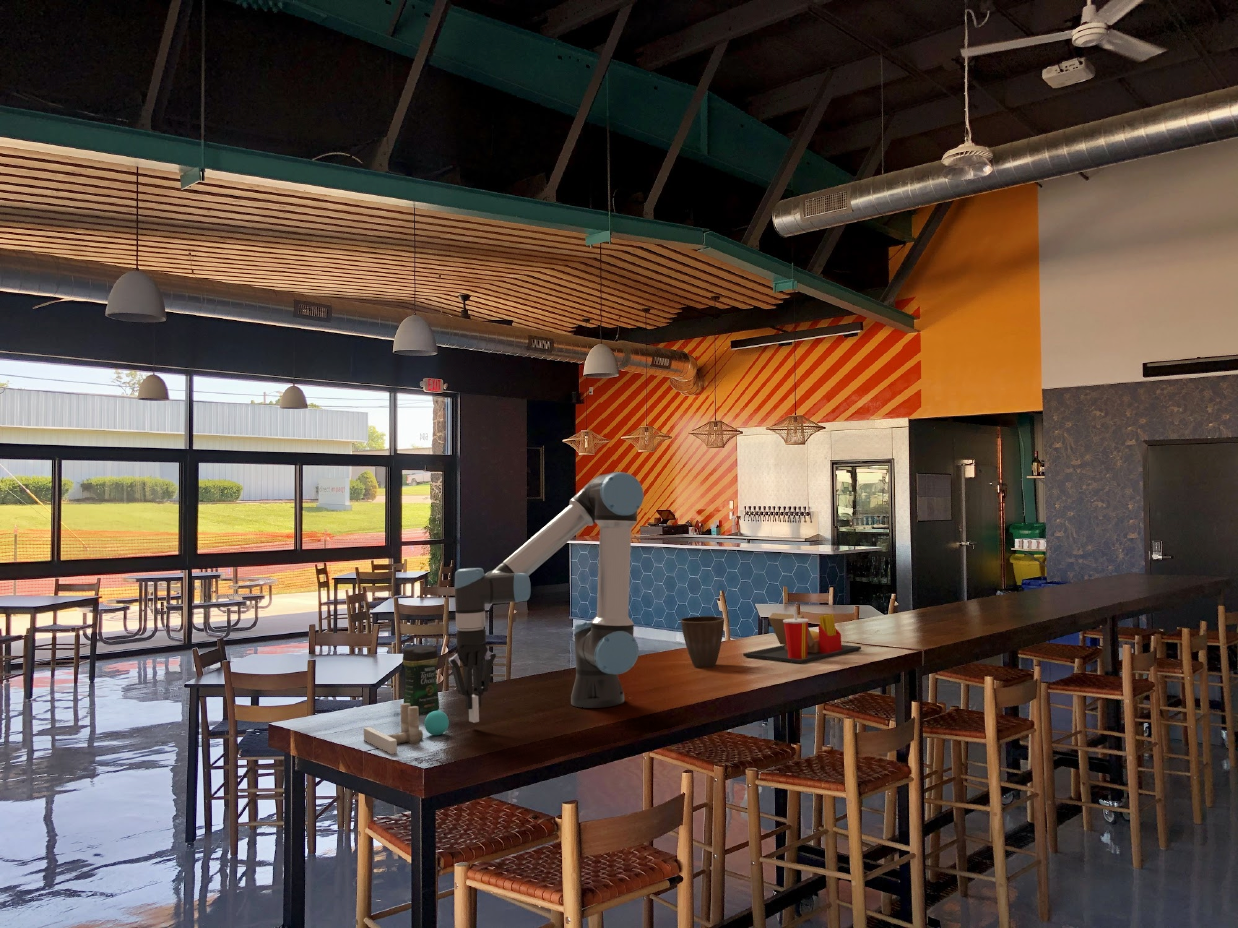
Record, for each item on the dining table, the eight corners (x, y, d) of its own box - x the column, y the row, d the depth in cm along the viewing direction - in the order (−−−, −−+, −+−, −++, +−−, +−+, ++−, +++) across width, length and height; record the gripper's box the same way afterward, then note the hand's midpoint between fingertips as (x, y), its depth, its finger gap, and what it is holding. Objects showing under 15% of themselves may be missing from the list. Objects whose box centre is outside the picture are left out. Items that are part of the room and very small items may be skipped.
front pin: (419, 728, 229) (386, 734, 225) (422, 730, 227) (389, 736, 223) (419, 737, 229) (385, 743, 225) (422, 740, 227) (389, 746, 223)
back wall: (369, 739, 230) (369, 726, 230) (397, 752, 216) (396, 739, 216) (363, 740, 229) (363, 727, 230) (390, 754, 215) (390, 741, 215)
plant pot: (728, 668, 307) (726, 620, 308) (683, 670, 308) (681, 622, 308) (724, 661, 322) (722, 615, 323) (681, 663, 323) (679, 617, 323)
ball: (416, 727, 232) (435, 739, 234) (425, 728, 227) (444, 740, 229) (428, 705, 235) (447, 717, 237) (437, 706, 230) (456, 717, 232)
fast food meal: (861, 651, 333) (858, 600, 334) (801, 665, 310) (798, 610, 311) (804, 646, 352) (801, 597, 353) (743, 658, 329) (740, 606, 330)
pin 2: (417, 740, 226) (415, 705, 227) (420, 742, 225) (419, 707, 225) (407, 742, 225) (406, 707, 226) (411, 744, 223) (410, 708, 224)
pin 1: (409, 737, 231) (408, 702, 231) (412, 738, 229) (411, 704, 229) (399, 738, 229) (398, 704, 230) (403, 740, 227) (402, 705, 228)
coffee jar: (414, 717, 253) (412, 649, 254) (399, 713, 259) (397, 646, 260) (444, 711, 260) (442, 644, 261) (429, 707, 266) (427, 642, 266)
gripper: (487, 624, 245) (490, 714, 244) (441, 630, 237) (444, 722, 236) (500, 626, 239) (503, 719, 238) (453, 632, 231) (457, 727, 230)
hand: (474, 721), depth 237 cm, fingers closed
